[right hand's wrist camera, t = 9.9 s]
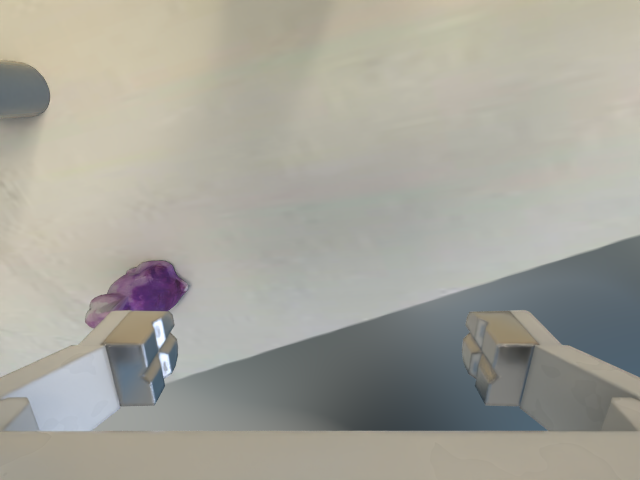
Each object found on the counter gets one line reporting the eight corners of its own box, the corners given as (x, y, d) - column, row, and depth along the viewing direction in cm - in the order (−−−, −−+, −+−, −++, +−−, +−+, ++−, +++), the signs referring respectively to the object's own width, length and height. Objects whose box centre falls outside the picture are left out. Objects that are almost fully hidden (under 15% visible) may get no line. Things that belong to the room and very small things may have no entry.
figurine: (113, 282, 63) (54, 335, 49) (150, 244, 61) (99, 288, 47) (157, 317, 66) (113, 377, 52) (195, 282, 63) (159, 334, 49)
